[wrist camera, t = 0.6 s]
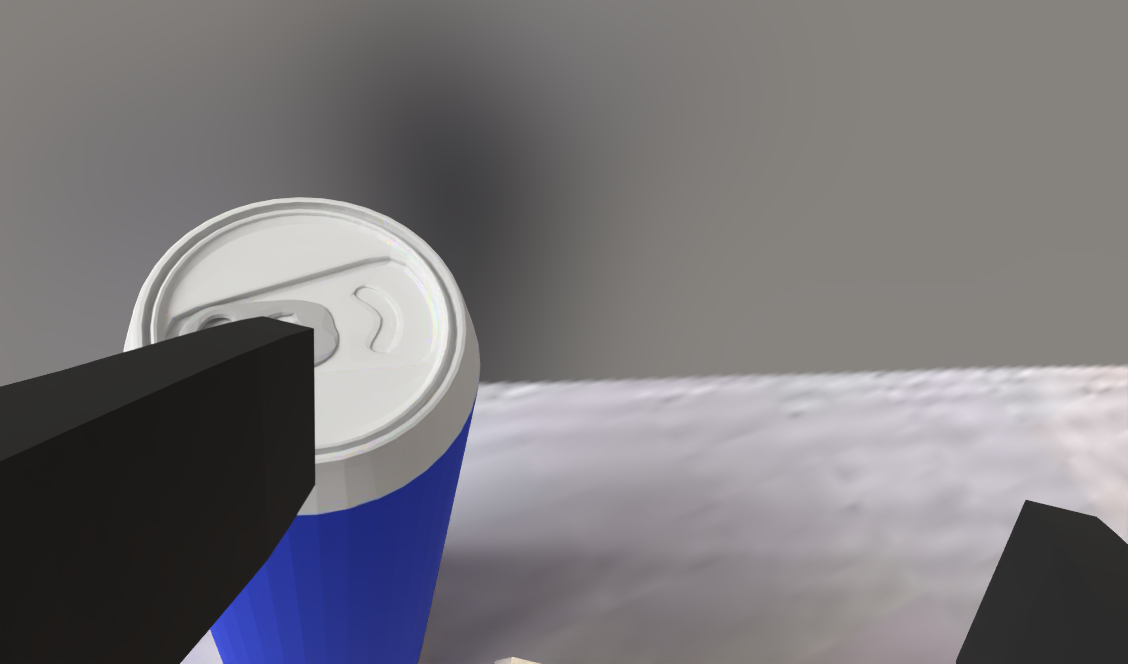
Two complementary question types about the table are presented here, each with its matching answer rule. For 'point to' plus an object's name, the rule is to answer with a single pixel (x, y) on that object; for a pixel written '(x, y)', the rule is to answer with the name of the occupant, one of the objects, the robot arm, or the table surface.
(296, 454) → the robot arm
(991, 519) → the table surface
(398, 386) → the beverage can
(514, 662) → the flap
